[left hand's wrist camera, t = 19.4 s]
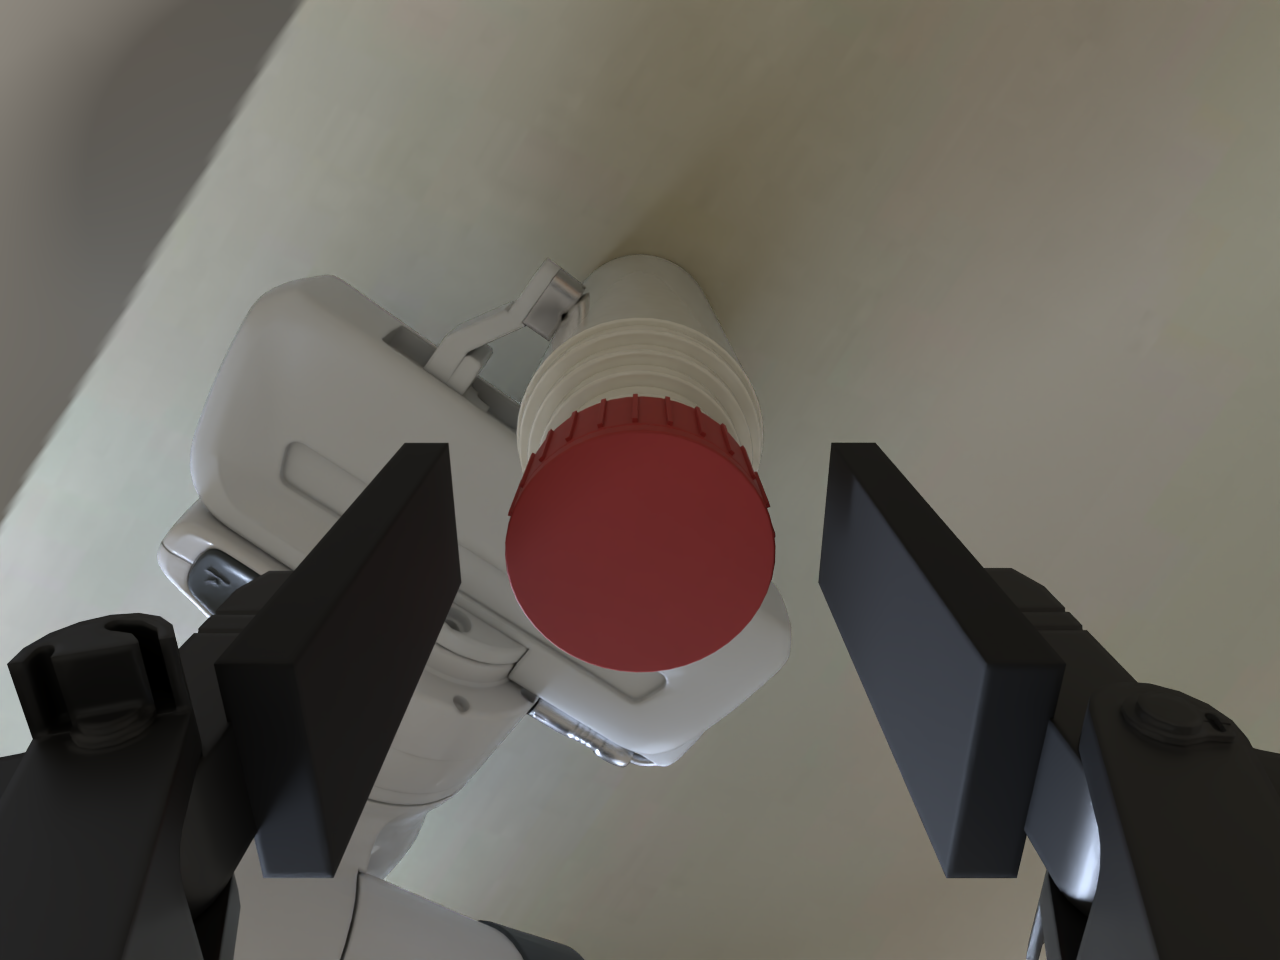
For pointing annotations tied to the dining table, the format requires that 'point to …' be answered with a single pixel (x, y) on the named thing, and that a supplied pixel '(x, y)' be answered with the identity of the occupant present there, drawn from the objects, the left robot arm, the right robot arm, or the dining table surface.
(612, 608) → the cap
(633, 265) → the bottle
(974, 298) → the dining table surface
